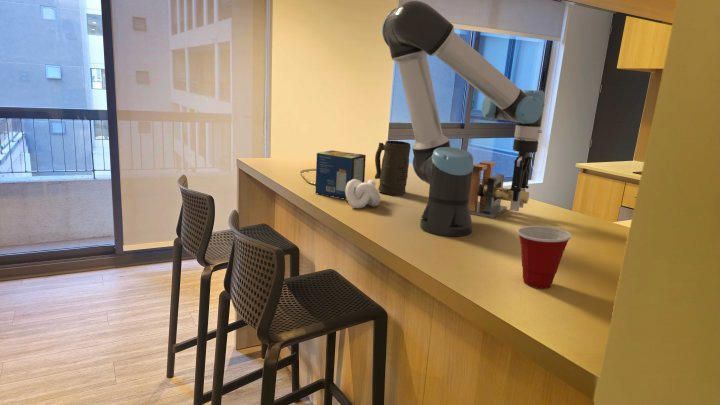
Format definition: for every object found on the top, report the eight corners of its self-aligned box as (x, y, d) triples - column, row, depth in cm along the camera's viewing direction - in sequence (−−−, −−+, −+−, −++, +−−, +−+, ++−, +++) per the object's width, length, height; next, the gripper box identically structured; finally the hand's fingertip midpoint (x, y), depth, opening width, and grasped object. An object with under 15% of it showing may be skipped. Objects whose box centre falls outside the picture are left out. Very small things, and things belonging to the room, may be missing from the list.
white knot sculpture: (352, 211, 150) (353, 184, 148) (338, 202, 161) (339, 177, 158) (383, 209, 155) (384, 183, 152) (368, 201, 165) (369, 176, 163)
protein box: (330, 189, 181) (331, 150, 177) (364, 195, 173) (366, 154, 170) (314, 193, 172) (315, 152, 168) (349, 200, 165) (351, 157, 161)
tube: (525, 205, 151) (527, 192, 150) (455, 193, 163) (456, 181, 162) (528, 203, 154) (530, 190, 153) (459, 191, 166) (461, 179, 165)
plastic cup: (509, 270, 107) (516, 220, 104) (559, 278, 104) (568, 227, 101) (510, 288, 97) (518, 234, 94) (565, 297, 94) (575, 241, 91)
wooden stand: (493, 218, 151) (500, 169, 147) (442, 208, 160) (447, 162, 156) (506, 209, 164) (512, 164, 160) (458, 200, 173) (463, 158, 169)
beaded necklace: (310, 188, 182) (310, 184, 182) (296, 172, 215) (296, 168, 214) (355, 188, 188) (356, 184, 187) (336, 172, 220) (336, 168, 220)
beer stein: (411, 192, 182) (415, 142, 178) (399, 197, 174) (403, 144, 169) (378, 186, 190) (381, 138, 186) (364, 190, 181) (367, 139, 177)
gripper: (531, 142, 139) (521, 216, 145) (544, 138, 155) (534, 205, 160) (507, 139, 143) (497, 211, 149) (521, 136, 158) (512, 201, 164)
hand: (516, 208), depth 154 cm, fingers open, 5 cm apart
